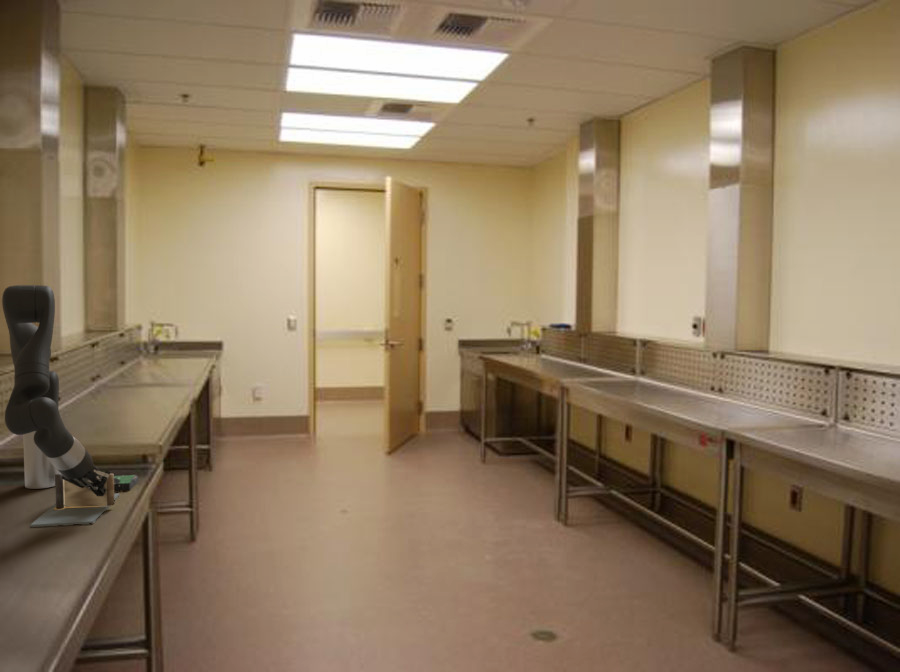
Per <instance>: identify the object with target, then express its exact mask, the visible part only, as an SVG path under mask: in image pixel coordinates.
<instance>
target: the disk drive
mask: <svg viewBox="0 0 900 672" xmlns="http://www.w3.org/2000/svg"><path fill="white" fill-rule="evenodd" d="M138 482H139V476H138V474H124V475H123V474H119V475H118V474H117V475H115V474H114V492H124V491H127V492H128V491H129V492H130V491H132V490H133V489H134V487H135V486H136V485H137V484H138Z"/></svg>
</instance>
